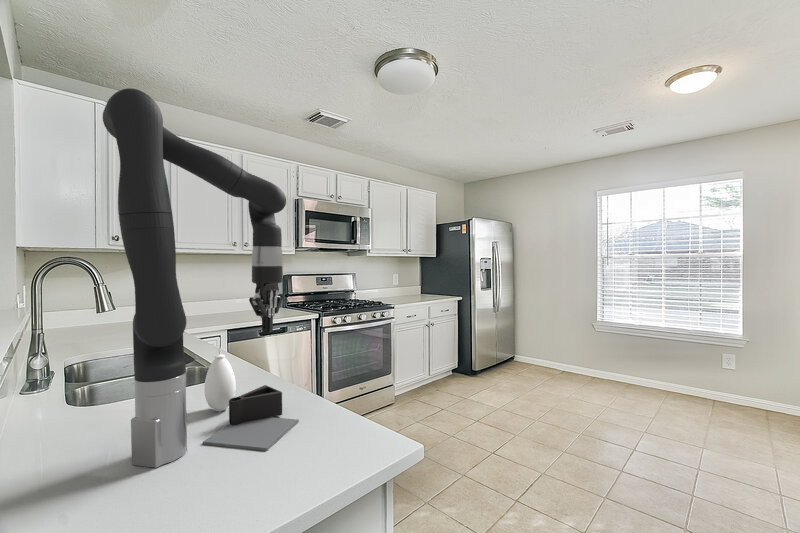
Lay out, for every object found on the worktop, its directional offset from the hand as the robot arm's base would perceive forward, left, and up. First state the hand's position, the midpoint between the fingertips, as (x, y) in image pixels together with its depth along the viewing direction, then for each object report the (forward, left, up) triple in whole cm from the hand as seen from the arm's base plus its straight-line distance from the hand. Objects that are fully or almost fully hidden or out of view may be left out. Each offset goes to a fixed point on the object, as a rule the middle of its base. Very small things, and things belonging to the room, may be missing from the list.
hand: (267, 331), depth 97 cm
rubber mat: (-7, 0, -23) cm, 24 cm away
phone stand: (+6, +1, -20) cm, 20 cm away
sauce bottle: (+4, +17, -23) cm, 29 cm away
